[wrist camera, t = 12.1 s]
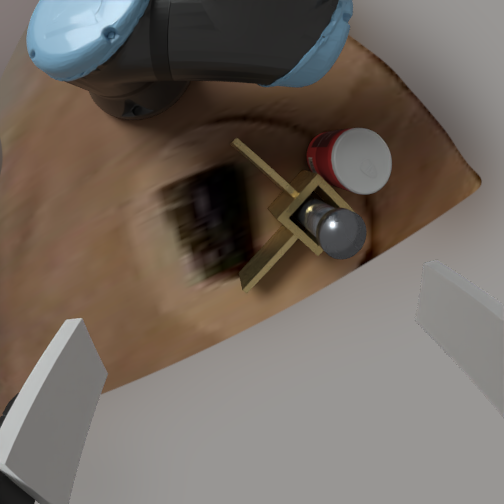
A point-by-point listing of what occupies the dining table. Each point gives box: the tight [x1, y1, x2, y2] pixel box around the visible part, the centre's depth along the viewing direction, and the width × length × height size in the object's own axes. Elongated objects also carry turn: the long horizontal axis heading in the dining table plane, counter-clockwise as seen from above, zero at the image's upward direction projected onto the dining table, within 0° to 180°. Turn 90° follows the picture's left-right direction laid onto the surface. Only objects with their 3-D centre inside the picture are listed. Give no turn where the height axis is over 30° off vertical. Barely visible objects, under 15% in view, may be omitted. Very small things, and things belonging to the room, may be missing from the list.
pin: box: [292, 195, 366, 259], centre depth 36 cm, size 5×5×16 cm
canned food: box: [307, 128, 392, 194], centre depth 36 cm, size 8×8×11 cm
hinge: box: [230, 138, 354, 293], centre depth 39 cm, size 18×18×7 cm
